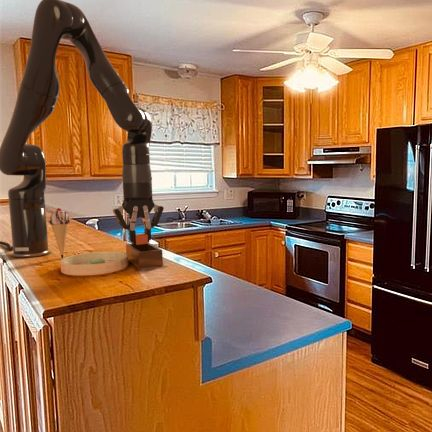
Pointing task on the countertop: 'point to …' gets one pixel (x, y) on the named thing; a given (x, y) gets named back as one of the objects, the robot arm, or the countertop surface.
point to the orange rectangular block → (141, 239)
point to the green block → (97, 261)
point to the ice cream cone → (60, 228)
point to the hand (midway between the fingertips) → (140, 242)
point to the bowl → (82, 265)
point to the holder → (144, 255)
